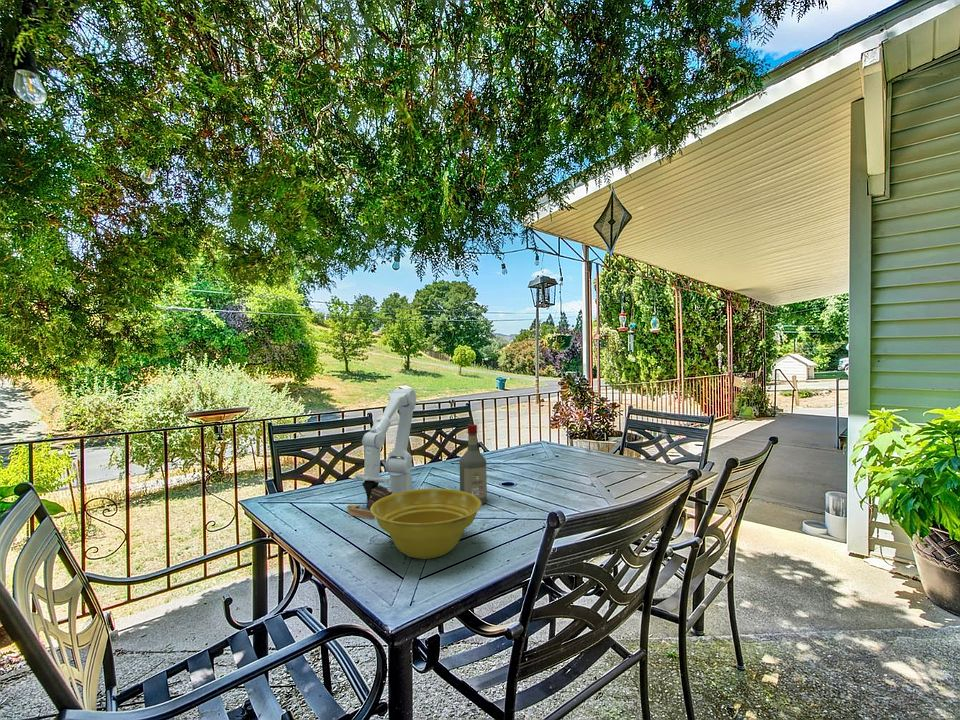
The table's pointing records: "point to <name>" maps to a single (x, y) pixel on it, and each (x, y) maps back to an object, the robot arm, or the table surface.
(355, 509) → the tan bent bars
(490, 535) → the table surface
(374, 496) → the box
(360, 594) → the table surface
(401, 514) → the planter bowl
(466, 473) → the liquor
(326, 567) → the table surface
